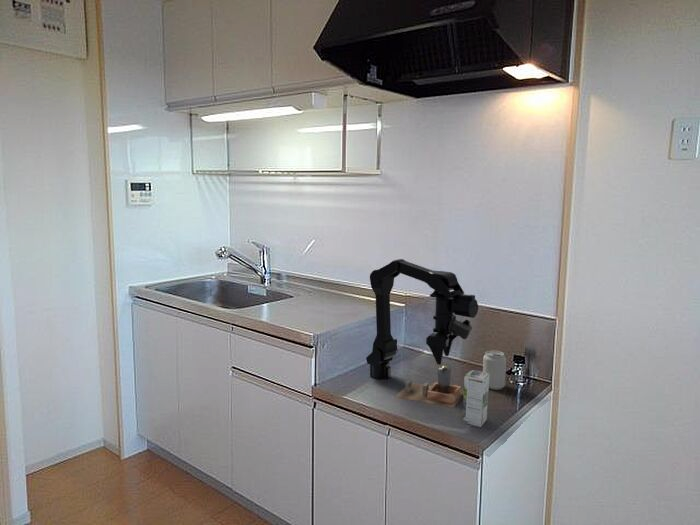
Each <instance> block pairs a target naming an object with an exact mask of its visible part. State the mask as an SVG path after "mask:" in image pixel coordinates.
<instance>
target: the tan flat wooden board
mask: <svg viewBox="0 0 700 525" xmlns="http://www.w3.org/2000/svg"><path fill="white" fill-rule="evenodd" d="M463 395H464V390H461V386H460V385H459V386H458V385H454V384H453V385H452V384H450V394H445V393H439V392H438V382H434V383H433V384H432V385H430V384H429V382H424V383H423V384H422V383H416V382H413V380H410V379H408V380H407V381H405V387H404V388H402V390H401V391H399V392H398V394H396V396H395V398H397V399H398V398H400V399H405V400H411V401H416V402H422V403H426V404H432V405H437V406H444V407H448V408H449V407H450V408H455V406H456V405H457V404H458V402H459V400H460V399H461V397H462V396H463Z"/></svg>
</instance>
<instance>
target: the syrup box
mask: <svg viewBox="0 0 700 525" xmlns="http://www.w3.org/2000/svg"><path fill="white" fill-rule="evenodd" d="M463 382H464V383H463V384H464V385H463V391H464V393H463V400H462V401H463V402H462V420H461V421H464V422H466V424H467V425H469V424H470V426H473V427H474V426H475V427H479V428H482V427H483V425H484V424H485V423H486V422H487V419H488V409H489V407H488V406H489V405H488V404H489V390H490V389H489V374H488V373H485V372H483V371H480V370H474V369H472V370H470V371H468V373H466V374H465V376H464V381H463Z"/></svg>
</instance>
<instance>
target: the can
mask: <svg viewBox="0 0 700 525" xmlns="http://www.w3.org/2000/svg"><path fill="white" fill-rule="evenodd" d="M482 360H483V361H482V362H483V363H482V372H485V373H488V374H489V390H495V391H498V390H502V389H503V388H504V387H505V386H506V375H507V374H506V372H507V370H506V368H507V366H506V365H507V357H506V356H505V353H504V352H502V351H500V350H488V351H485V354H484V355H483V359H482Z"/></svg>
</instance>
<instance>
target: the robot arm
mask: <svg viewBox="0 0 700 525" xmlns="http://www.w3.org/2000/svg"><path fill="white" fill-rule="evenodd" d="M400 274H402V275H405V276H408V277H410V278H413V279H415V280H418V281H421V282H423V283H425V284H426V285H428V286H429V288H431V289H433V290H434V291H433V292H431V293H430V294H429V297H430V298H433V299H435V311H434V315H433V318H432V319H433V320H434V328H433V329H432V332H431V333H430V334H429V335H427V337H426V339H425V344H426V345H427V346H428V347H429V349H430V351H431V353H432V356H433V357H434V360H435V362H436V364H437V365H441V366H442V361H443V357H444V356H445V357H448V356H449V355H450V352H451V349H452V346H453V342H454V340H455V338H457V337H460V338H461V339H463V340H467V338H469V336H470V334H471V332H472V330H473V326H472V325H471V320H469V319H467V318H471V319H473V318H475V317H476V316H477V314H478V312H479V304H478V303H479V302H478V301H477V299H476V295H475V294H465V291H464V290H463V288H462V286H461V285H460V283H459V280H458V277H457V275H456V274H455V273H453V272H452V271H443V270H433V269H429V268H427V267H424V266H422V265H419V264H416V263H412V262H410V261H407V260H405V259H403V258H400V259H394V260H392V261H391V262H390V263H388V264H386V265H384V266H382V267H380V268H379V269H374V270H372V272H371V273H370V274H369V282H370V286H371V289H372V291H373V293H374V296H375V319H376V320H375V321H376V324H375V325H376V336H375V337H374V341H373V343H372V350H371V351H372V352H371V353H370V354H368V355H367V356H366V358H365V359H366V363H367V365H369V377H370V378H372V379H375V380H389V379H390V378H392V377H391V375H392V373H391V372H392V369H391V368H392V367H391V365H390V362H392V361H393V359H394V356H396V355H397V352H398V350H399V348H398V339H397V338H393V335H392V334H391V333H392V331H391V329H392V326H391V325H392V324H391V300H390V299H391V292H392V290H393V287H394V283H395V278H396V277H398V276H400ZM456 315H457V316H461V317H465V319H464V320H463V321H462V320H457V316H456ZM466 317H467V318H466Z"/></svg>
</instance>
